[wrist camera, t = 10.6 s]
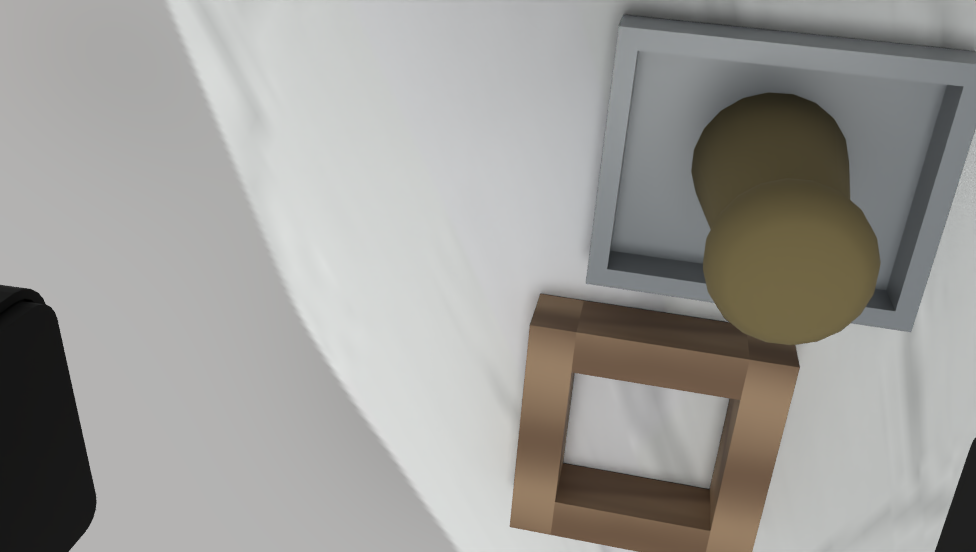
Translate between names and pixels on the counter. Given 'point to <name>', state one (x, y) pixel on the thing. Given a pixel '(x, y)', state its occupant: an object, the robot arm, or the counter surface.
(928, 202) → the tray
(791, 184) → the cork
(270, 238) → the counter surface
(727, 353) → the socket block
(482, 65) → the counter surface
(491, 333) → the counter surface
